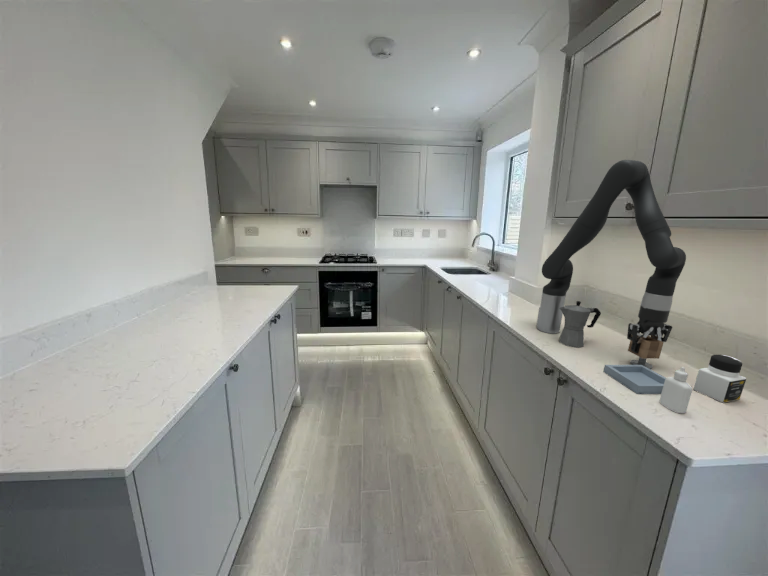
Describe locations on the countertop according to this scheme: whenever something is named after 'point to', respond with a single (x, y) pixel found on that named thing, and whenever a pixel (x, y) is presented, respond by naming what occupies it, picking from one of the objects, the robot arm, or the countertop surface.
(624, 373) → the tray
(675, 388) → the eye dropper bottle
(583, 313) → the coffeepot
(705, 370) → the medicine bottle
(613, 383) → the countertop surface
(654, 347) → the block
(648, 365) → the grey metal coffee tamper
